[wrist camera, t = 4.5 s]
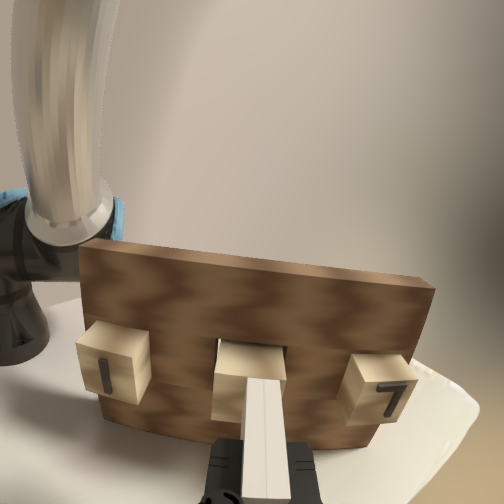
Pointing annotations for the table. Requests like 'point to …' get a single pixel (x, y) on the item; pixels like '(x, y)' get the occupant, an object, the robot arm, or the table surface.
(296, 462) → the robot arm
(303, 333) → the digit board
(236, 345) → the plain block
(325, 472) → the table surface
